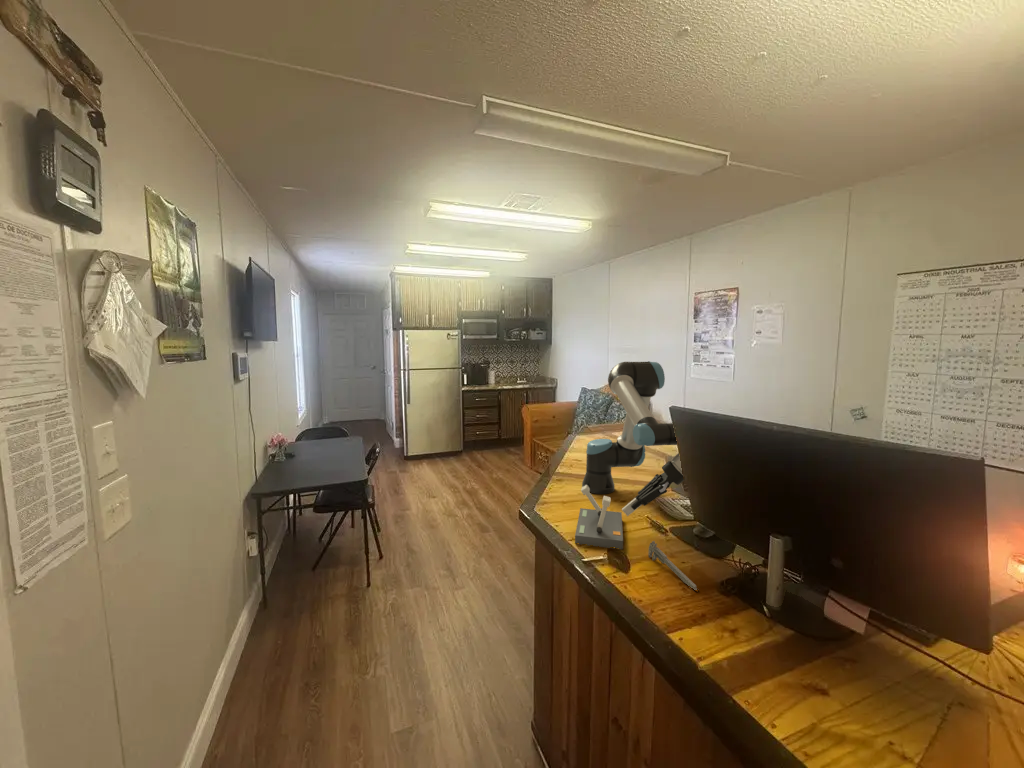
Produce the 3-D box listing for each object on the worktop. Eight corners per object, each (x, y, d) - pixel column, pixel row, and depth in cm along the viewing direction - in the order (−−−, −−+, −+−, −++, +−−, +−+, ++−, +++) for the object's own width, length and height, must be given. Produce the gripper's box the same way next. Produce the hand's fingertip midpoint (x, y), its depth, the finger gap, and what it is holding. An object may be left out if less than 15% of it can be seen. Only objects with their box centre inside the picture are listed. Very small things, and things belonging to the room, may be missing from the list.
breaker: (599, 513, 160) (581, 487, 160) (604, 510, 159) (586, 484, 160) (598, 517, 156) (581, 490, 156) (604, 515, 155) (586, 487, 156)
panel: (580, 515, 164) (580, 507, 164) (621, 519, 161) (621, 511, 160) (574, 543, 141) (575, 534, 141) (622, 549, 137) (623, 540, 137)
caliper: (648, 557, 133) (648, 539, 132) (650, 557, 133) (651, 538, 133) (696, 593, 114) (698, 572, 113) (699, 593, 114) (701, 571, 114)
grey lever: (595, 527, 146) (603, 495, 144) (602, 529, 146) (610, 497, 144) (595, 532, 142) (603, 499, 140) (601, 534, 142) (610, 501, 140)
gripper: (690, 483, 128) (633, 528, 134) (683, 471, 141) (631, 513, 147) (673, 466, 129) (617, 511, 135) (667, 455, 142) (616, 497, 147)
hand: (624, 512), depth 141 cm, fingers closed
